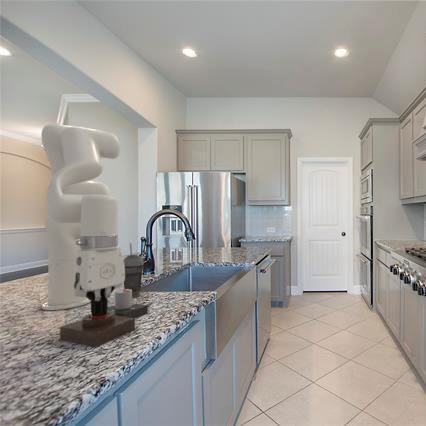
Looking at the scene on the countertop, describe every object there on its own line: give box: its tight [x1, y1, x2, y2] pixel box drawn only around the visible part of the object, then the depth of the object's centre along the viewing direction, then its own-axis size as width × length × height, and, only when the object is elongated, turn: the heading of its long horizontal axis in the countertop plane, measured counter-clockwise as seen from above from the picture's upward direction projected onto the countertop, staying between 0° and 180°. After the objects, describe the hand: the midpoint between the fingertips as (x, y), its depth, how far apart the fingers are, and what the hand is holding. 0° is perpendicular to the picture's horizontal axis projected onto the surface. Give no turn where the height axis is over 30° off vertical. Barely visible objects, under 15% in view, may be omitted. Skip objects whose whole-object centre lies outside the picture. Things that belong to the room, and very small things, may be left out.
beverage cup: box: [123, 242, 145, 299], centre depth 106 cm, size 7×7×20 cm
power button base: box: [59, 311, 136, 348], centre depth 72 cm, size 12×10×5 cm
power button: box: [90, 313, 108, 318], centre depth 72 cm, size 4×4×2 cm
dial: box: [114, 288, 133, 310], centre depth 86 cm, size 4×4×5 cm
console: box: [107, 302, 149, 319], centre depth 86 cm, size 10×8×3 cm
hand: (99, 314), depth 72 cm, fingers closed
